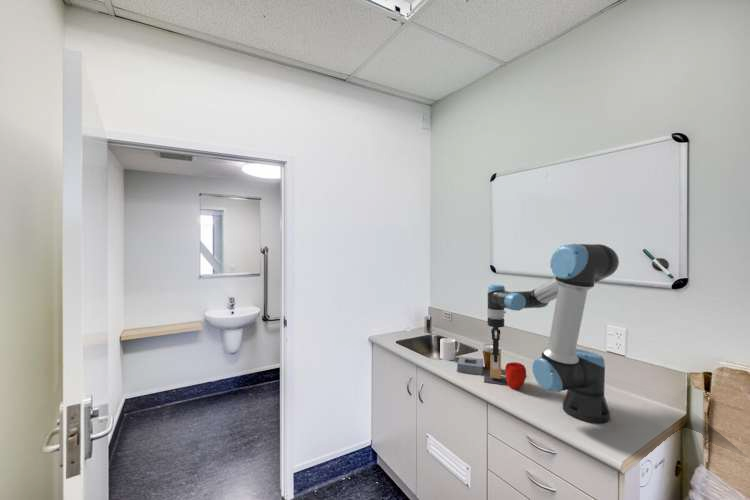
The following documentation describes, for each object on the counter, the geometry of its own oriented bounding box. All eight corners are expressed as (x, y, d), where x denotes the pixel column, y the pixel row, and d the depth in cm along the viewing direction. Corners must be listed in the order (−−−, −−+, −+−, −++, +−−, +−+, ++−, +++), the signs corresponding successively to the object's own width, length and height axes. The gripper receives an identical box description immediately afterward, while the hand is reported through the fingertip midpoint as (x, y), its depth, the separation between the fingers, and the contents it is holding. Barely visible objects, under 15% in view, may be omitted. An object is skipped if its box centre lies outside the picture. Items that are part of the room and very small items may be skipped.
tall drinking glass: (500, 379, 151) (500, 349, 151) (490, 377, 153) (490, 347, 153) (500, 375, 155) (500, 346, 155) (490, 374, 157) (490, 345, 157)
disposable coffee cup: (481, 371, 164) (481, 348, 164) (481, 365, 173) (481, 342, 173) (502, 374, 161) (502, 349, 161) (500, 367, 170) (500, 344, 170)
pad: (507, 385, 148) (507, 384, 148) (483, 382, 151) (483, 381, 151) (506, 377, 157) (506, 376, 157) (484, 374, 160) (484, 373, 160)
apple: (524, 393, 140) (524, 368, 140) (503, 388, 144) (503, 364, 144) (527, 386, 147) (527, 362, 147) (507, 381, 152) (507, 358, 152)
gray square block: (482, 375, 160) (482, 366, 160) (457, 371, 164) (457, 363, 164) (483, 366, 171) (483, 359, 171) (459, 363, 175) (459, 356, 175)
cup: (463, 358, 184) (463, 340, 184) (445, 360, 180) (445, 342, 180) (455, 354, 192) (455, 337, 192) (437, 356, 188) (437, 338, 187)
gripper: (505, 322, 144) (504, 374, 144) (503, 314, 161) (503, 361, 161) (487, 320, 147) (486, 372, 147) (487, 313, 163) (487, 359, 164)
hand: (495, 366), depth 154 cm, fingers closed on tall drinking glass, 5 cm apart
